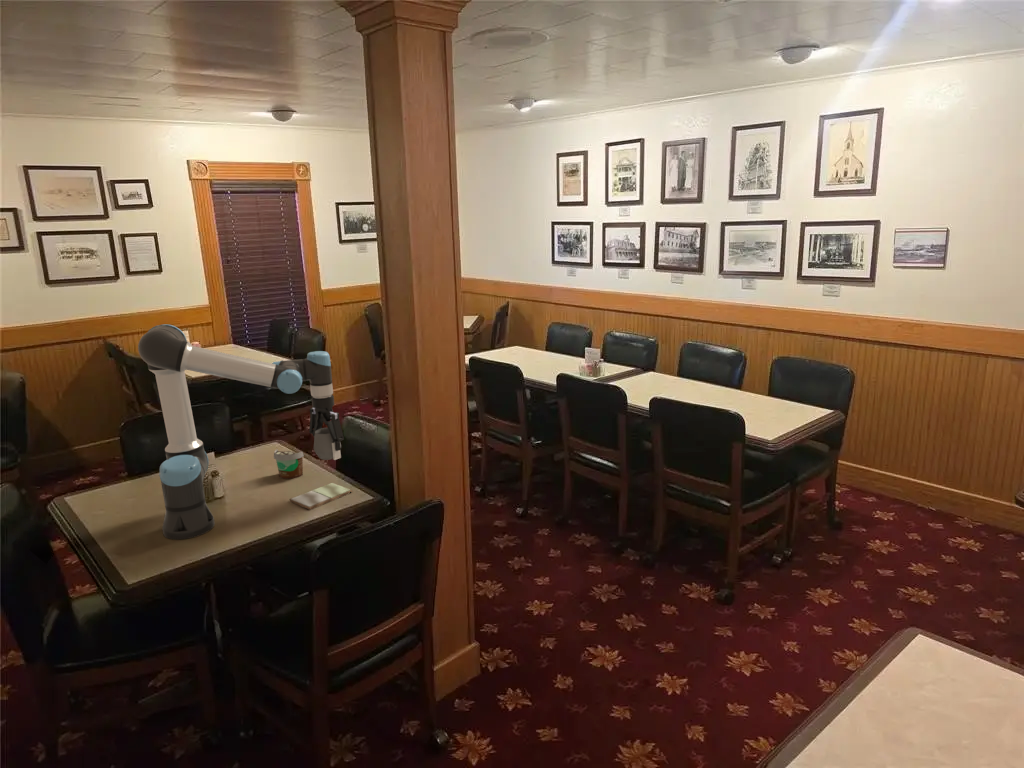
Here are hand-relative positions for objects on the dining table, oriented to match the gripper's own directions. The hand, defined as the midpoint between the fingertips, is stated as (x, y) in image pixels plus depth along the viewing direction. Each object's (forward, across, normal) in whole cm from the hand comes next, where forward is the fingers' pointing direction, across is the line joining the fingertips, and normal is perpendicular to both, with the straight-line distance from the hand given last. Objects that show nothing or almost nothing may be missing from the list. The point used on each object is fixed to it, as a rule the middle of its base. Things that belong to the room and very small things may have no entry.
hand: (328, 455), depth 238 cm
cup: (+1, 0, 0) cm, 1 cm away
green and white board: (+14, 0, +5) cm, 15 cm away
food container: (+14, +27, +1) cm, 31 cm away
